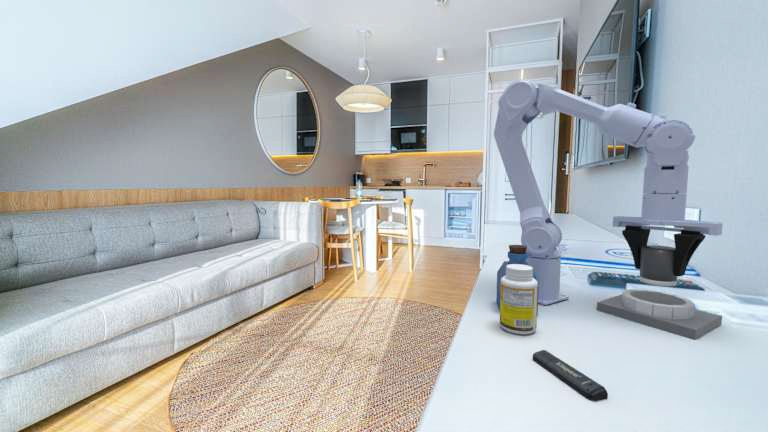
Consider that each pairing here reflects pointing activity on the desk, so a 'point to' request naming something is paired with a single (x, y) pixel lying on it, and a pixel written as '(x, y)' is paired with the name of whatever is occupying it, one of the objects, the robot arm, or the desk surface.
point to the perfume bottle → (515, 257)
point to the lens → (658, 265)
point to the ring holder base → (661, 312)
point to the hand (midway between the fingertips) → (658, 271)
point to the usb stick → (571, 376)
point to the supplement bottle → (518, 300)
